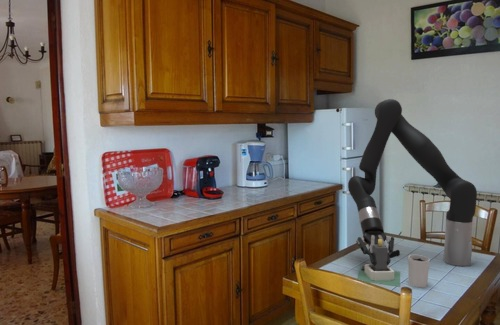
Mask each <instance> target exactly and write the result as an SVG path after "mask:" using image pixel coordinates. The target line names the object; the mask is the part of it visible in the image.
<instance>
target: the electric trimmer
mask: <svg viewBox="0 0 500 325" xmlns="http://www.w3.org/2000/svg"><path fill="white" fill-rule="evenodd" d="M400 252H401V251H400V250H399V249H395V250H393V252H392V253H391V254H389V257H390V259H392V258H396V257H399V256H400V255H401V253H400Z"/></svg>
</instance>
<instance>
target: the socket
mask: <svg viewBox="0 0 500 325" xmlns="http://www.w3.org/2000/svg"><path fill="white" fill-rule="evenodd" d="M364 266H365V270H364V273H365V274H366V275H367V276H368V277H369V278H370V279H371V280H374V281H391V280H394V271H395V270H393V268H391V267H390V266H389V265H387V271H373V270H372V269H371V267H372V264H371V263H366V264H364Z"/></svg>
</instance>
